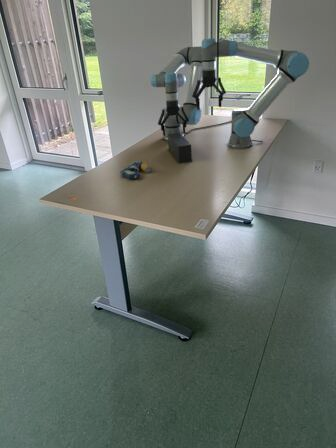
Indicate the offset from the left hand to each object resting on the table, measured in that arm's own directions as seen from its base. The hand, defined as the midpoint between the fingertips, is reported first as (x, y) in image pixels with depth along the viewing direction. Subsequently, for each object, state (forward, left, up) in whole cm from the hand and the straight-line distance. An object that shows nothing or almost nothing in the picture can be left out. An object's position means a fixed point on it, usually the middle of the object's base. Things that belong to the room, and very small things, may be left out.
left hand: (174, 134), depth 219 cm
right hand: (-15, +19, +17) cm, 30 cm away
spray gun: (+37, +20, -11) cm, 43 cm away
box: (+2, +10, -11) cm, 15 cm away
